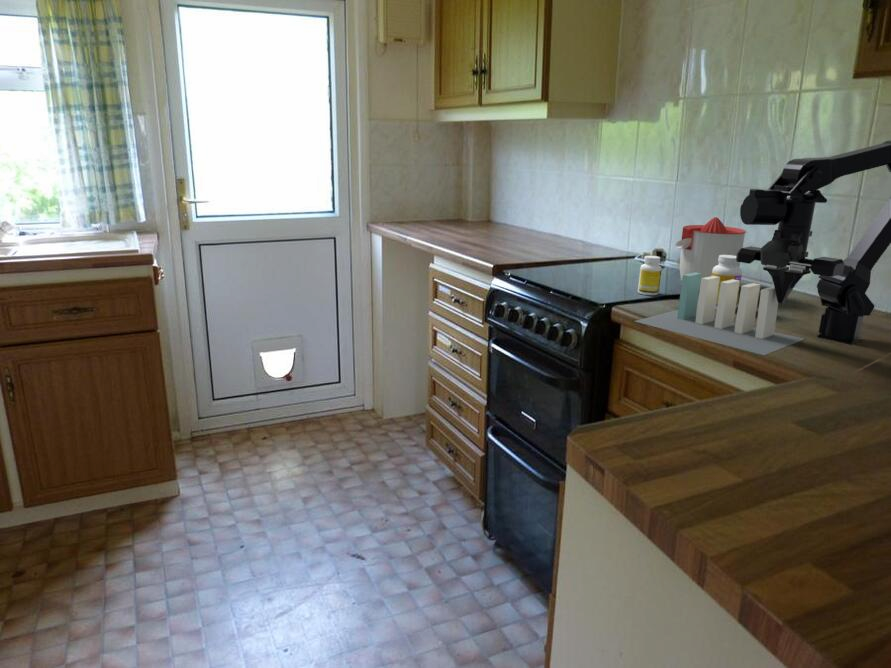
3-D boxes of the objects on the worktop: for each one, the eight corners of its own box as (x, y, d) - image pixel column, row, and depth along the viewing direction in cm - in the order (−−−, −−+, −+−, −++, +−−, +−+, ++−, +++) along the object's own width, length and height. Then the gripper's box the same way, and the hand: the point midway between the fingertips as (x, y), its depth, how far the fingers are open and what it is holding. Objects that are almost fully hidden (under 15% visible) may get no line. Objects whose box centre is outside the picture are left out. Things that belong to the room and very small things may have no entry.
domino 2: (732, 325, 145) (739, 280, 142) (721, 328, 142) (728, 283, 139) (725, 323, 146) (732, 279, 143) (714, 327, 143) (720, 282, 140)
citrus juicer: (659, 285, 185) (668, 213, 179) (718, 285, 187) (728, 213, 181) (684, 298, 170) (695, 220, 164) (748, 298, 172) (760, 221, 166)
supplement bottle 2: (732, 313, 156) (740, 259, 152) (703, 308, 160) (710, 256, 156) (739, 308, 161) (747, 256, 157) (711, 303, 165) (718, 252, 161)
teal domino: (677, 318, 149) (682, 274, 146) (689, 314, 152) (695, 272, 149) (683, 319, 148) (689, 276, 145) (695, 316, 151) (701, 273, 148)
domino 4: (774, 334, 138) (780, 287, 135) (762, 338, 135) (769, 290, 132) (766, 333, 139) (772, 286, 137) (755, 337, 136) (761, 289, 134)
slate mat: (804, 340, 136) (804, 338, 136) (763, 356, 125) (764, 355, 125) (678, 310, 157) (678, 309, 157) (633, 322, 146) (633, 321, 146)
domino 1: (713, 320, 148) (720, 277, 145) (701, 324, 145) (708, 279, 142) (706, 319, 149) (713, 275, 146) (695, 322, 146) (701, 278, 143)
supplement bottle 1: (661, 296, 172) (665, 258, 169) (640, 295, 172) (644, 258, 169) (655, 291, 177) (659, 255, 174) (635, 290, 177) (639, 254, 174)
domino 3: (752, 329, 141) (760, 284, 138) (741, 333, 138) (749, 287, 135) (745, 328, 142) (753, 283, 140) (734, 332, 139) (741, 285, 137)
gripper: (728, 222, 130) (717, 299, 135) (829, 234, 117) (813, 319, 121) (754, 219, 137) (742, 292, 142) (852, 230, 124) (836, 310, 129)
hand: (780, 302), depth 133 cm, fingers closed
